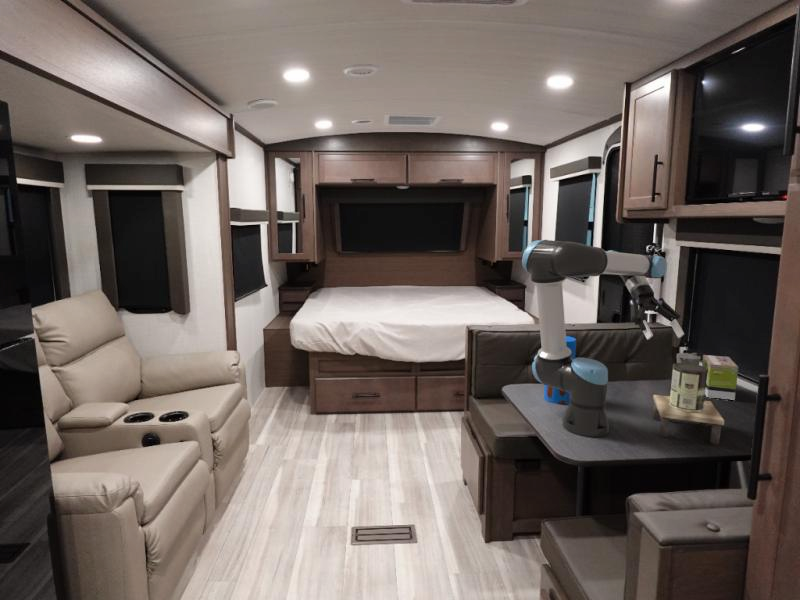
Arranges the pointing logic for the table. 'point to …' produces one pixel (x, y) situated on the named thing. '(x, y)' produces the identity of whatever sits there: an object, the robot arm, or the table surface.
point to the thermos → (556, 394)
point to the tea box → (720, 377)
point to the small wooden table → (687, 416)
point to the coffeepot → (688, 357)
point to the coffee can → (688, 387)
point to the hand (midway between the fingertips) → (666, 336)
